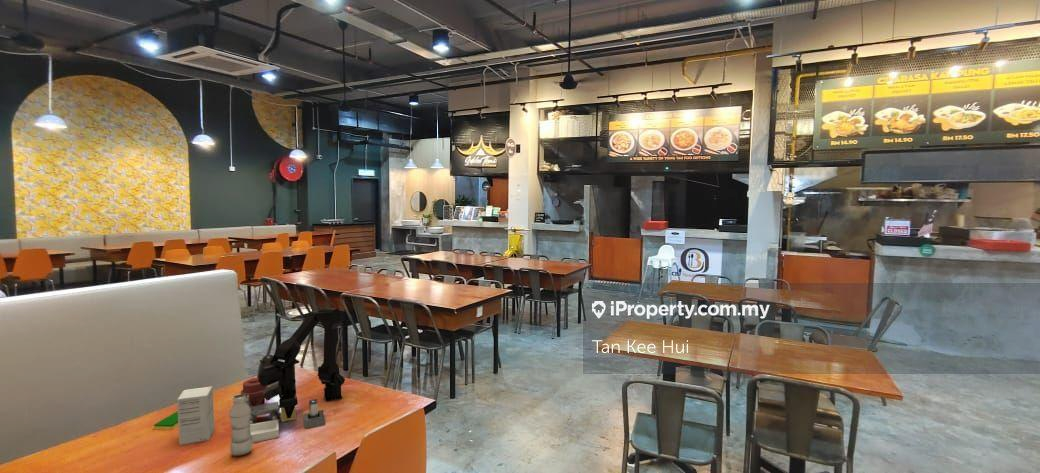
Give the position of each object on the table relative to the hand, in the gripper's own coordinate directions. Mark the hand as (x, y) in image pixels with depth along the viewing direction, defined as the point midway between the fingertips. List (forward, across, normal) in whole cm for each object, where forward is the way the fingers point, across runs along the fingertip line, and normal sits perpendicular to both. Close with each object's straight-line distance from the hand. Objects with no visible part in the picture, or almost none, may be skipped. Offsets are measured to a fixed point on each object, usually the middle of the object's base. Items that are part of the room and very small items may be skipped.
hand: (288, 415), depth 185 cm
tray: (+1, +10, -9) cm, 14 cm away
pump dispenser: (+2, -42, -7) cm, 43 cm away
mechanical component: (+2, -18, -12) cm, 22 cm away
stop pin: (+2, +8, +9) cm, 12 cm away
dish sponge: (+2, -19, -39) cm, 44 cm away
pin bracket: (+2, +8, +9) cm, 12 cm away
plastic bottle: (+2, +21, -15) cm, 26 cm away
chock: (+1, 0, 0) cm, 1 cm away
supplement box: (+2, 0, -30) cm, 30 cm away
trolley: (+2, -4, -9) cm, 10 cm away
